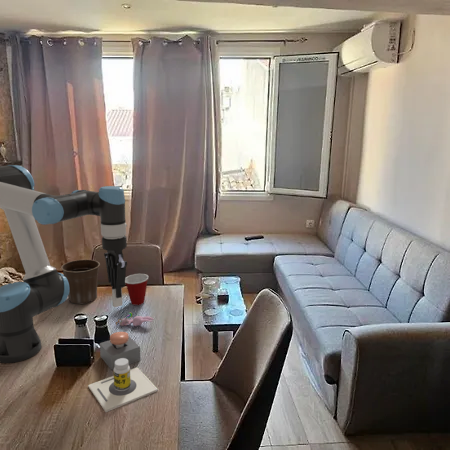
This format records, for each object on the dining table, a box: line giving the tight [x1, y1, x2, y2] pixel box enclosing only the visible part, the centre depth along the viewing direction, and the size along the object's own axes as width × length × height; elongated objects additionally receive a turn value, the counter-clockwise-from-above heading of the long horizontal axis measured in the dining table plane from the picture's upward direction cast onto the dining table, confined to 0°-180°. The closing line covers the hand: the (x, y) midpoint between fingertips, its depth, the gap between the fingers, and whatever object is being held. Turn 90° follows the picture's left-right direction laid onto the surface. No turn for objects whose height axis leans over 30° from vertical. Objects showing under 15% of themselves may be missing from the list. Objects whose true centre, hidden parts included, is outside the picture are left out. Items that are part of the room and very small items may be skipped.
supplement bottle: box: [112, 358, 131, 391], centre depth 121 cm, size 5×5×8 cm
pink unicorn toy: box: [115, 312, 154, 327], centre depth 160 cm, size 6×6×15 cm
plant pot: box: [60, 259, 101, 305], centre depth 183 cm, size 16×16×16 cm
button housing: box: [99, 336, 141, 371], centre depth 137 cm, size 10×10×5 cm
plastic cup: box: [125, 273, 149, 306], centre depth 180 cm, size 11×11×12 cm
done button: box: [109, 331, 130, 349], centre depth 136 cm, size 6×6×5 cm
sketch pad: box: [87, 366, 159, 413], centre depth 122 cm, size 16×14×1 cm
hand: (117, 305), depth 133 cm, fingers closed
